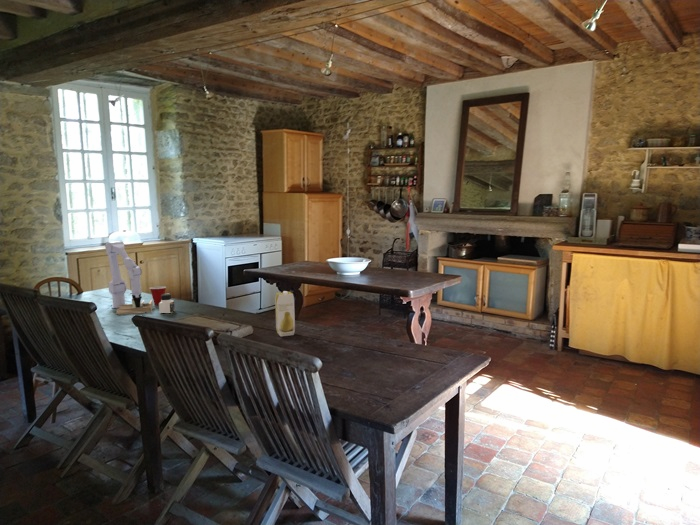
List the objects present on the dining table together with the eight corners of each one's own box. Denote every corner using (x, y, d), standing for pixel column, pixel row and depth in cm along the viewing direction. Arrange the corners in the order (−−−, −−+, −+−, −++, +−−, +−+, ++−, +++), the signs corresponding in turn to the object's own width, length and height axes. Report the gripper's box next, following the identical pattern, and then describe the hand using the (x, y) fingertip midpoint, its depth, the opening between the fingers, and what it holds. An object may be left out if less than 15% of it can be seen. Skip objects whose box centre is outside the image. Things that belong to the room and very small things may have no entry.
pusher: (142, 307, 320) (141, 300, 319) (144, 307, 320) (143, 300, 320) (140, 311, 311) (140, 303, 310) (142, 310, 312) (142, 303, 311)
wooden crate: (120, 310, 318) (119, 301, 317) (152, 307, 323) (152, 299, 322) (116, 314, 306) (116, 306, 305) (151, 312, 312) (150, 303, 311)
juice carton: (279, 337, 258) (277, 293, 254) (275, 333, 265) (274, 290, 261) (296, 335, 262) (295, 291, 258) (291, 331, 269) (290, 288, 265)
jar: (132, 308, 316) (131, 298, 315) (141, 307, 318) (140, 297, 317) (132, 310, 311) (131, 300, 310) (141, 309, 314) (140, 299, 312)
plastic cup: (167, 301, 340) (166, 284, 338) (167, 305, 330) (166, 287, 328) (151, 302, 337) (149, 285, 335) (150, 306, 327) (148, 288, 325)
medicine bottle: (170, 314, 307) (169, 295, 305) (159, 314, 307) (158, 295, 305) (174, 311, 314) (173, 292, 312) (163, 311, 314) (162, 292, 313)
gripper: (128, 284, 317) (130, 304, 319) (129, 288, 304) (131, 309, 306) (140, 283, 320) (141, 303, 322) (141, 287, 307) (143, 308, 310)
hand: (137, 306), depth 315 cm, fingers closed on jar, 5 cm apart
